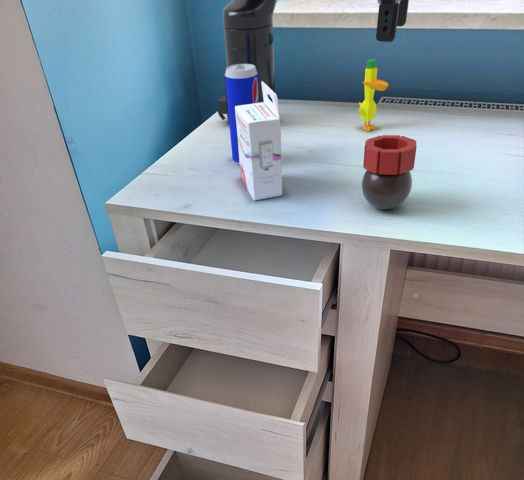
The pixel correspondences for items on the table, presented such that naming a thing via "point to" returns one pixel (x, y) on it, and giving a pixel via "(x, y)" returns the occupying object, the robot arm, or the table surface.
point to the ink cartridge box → (260, 146)
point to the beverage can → (239, 96)
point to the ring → (389, 154)
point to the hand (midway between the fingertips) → (391, 33)
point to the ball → (386, 189)
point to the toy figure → (370, 94)
